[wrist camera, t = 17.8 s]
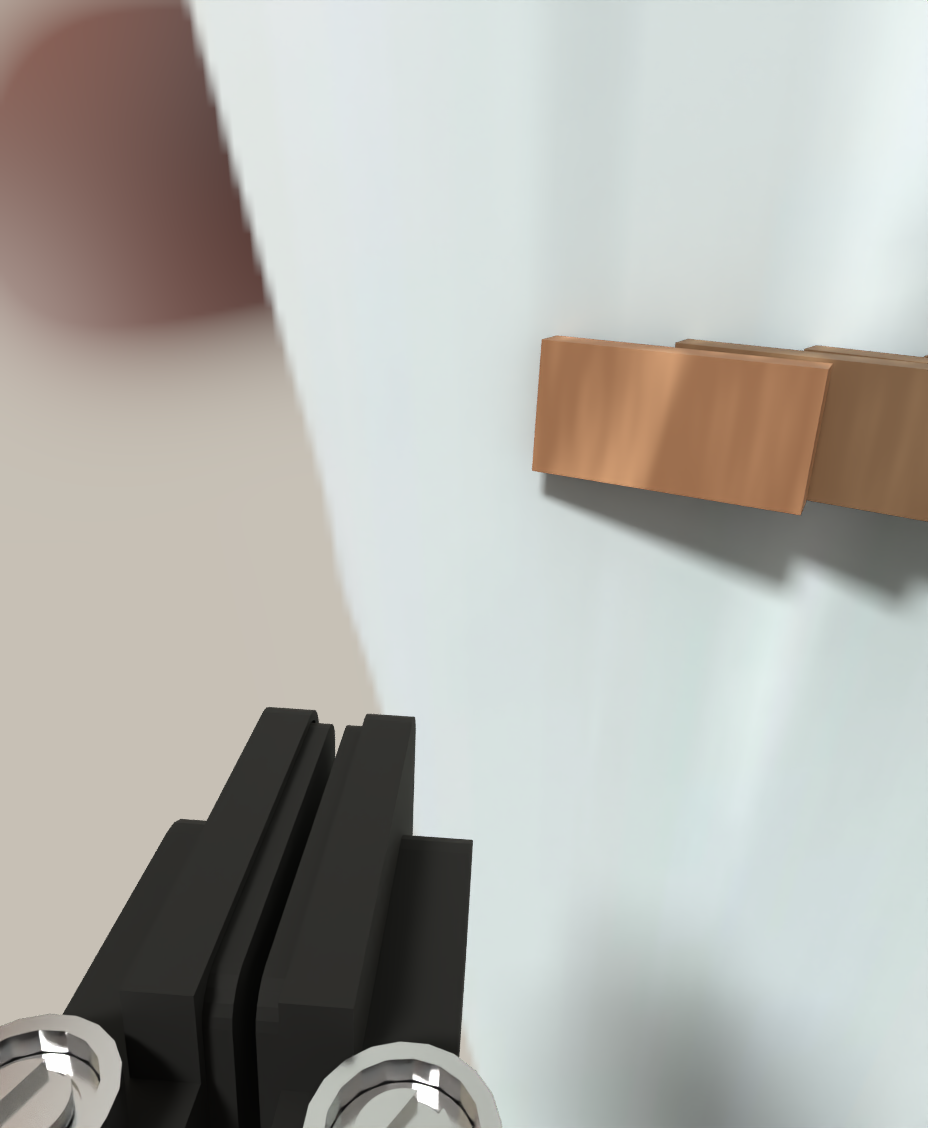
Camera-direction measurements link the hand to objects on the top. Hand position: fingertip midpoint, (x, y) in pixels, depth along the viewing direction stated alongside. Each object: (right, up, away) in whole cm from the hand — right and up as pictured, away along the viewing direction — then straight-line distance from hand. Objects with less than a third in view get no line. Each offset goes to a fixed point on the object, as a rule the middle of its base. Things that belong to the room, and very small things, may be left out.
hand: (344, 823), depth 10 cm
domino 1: (+4, +9, +24) cm, 26 cm away
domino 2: (+9, +9, +24) cm, 27 cm away
